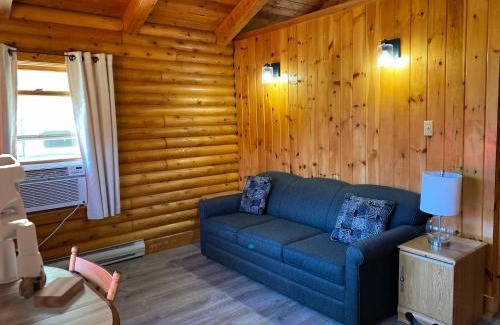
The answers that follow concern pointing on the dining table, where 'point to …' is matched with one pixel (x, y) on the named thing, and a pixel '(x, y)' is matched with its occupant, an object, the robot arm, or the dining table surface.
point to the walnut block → (58, 292)
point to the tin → (30, 286)
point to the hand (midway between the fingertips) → (33, 290)
